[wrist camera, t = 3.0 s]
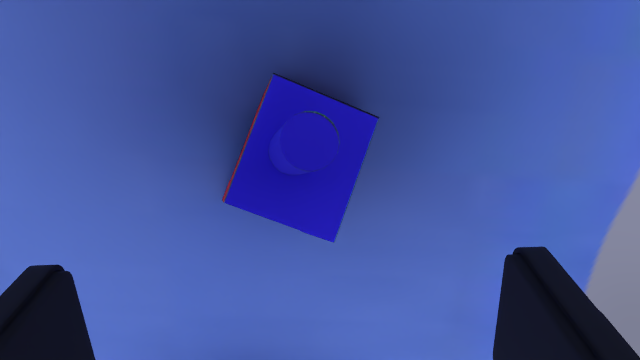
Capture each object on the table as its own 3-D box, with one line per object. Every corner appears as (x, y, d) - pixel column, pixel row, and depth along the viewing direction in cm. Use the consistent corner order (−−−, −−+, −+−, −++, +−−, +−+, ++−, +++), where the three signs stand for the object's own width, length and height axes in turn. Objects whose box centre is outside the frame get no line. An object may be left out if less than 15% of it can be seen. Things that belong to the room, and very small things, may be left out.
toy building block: (339, 135, 21) (413, 101, 13) (304, 231, 20) (359, 254, 13) (259, 103, 20) (286, 45, 12) (221, 200, 20) (224, 206, 12)
